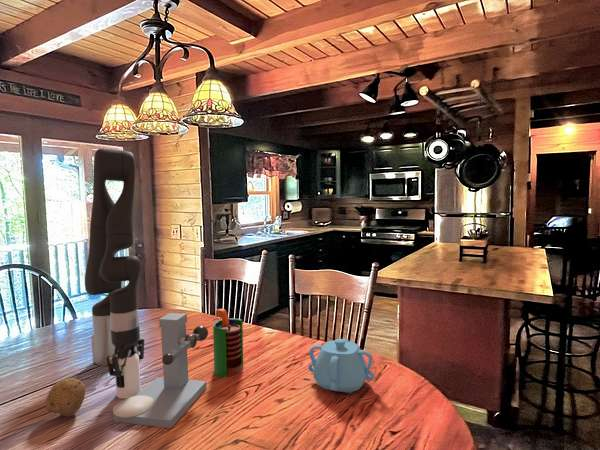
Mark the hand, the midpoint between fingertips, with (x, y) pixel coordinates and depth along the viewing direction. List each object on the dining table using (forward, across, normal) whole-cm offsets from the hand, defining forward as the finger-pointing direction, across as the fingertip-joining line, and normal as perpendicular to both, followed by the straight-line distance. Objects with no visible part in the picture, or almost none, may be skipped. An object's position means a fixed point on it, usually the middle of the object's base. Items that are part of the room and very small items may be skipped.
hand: (128, 381), depth 113 cm
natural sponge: (+4, +13, -9) cm, 16 cm away
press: (+4, +4, +12) cm, 13 cm away
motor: (+4, -19, +23) cm, 30 cm away
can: (+4, 0, 0) cm, 4 cm away
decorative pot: (+4, -16, +60) cm, 62 cm away
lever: (-10, 0, +19) cm, 22 cm away
